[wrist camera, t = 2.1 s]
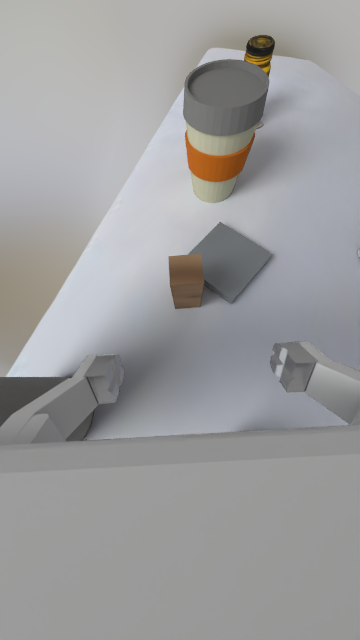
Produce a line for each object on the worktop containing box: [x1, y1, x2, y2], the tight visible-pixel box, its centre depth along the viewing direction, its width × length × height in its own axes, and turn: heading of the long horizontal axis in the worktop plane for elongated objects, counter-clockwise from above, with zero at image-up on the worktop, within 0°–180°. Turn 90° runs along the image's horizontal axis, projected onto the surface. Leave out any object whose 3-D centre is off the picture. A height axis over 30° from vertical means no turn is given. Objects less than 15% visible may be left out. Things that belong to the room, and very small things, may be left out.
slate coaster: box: [188, 222, 272, 304], centre depth 33 cm, size 12×12×2 cm
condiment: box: [244, 35, 275, 129], centre depth 39 cm, size 7×8×12 cm
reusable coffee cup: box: [183, 59, 269, 203], centre depth 32 cm, size 13×13×15 cm
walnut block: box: [169, 254, 204, 309], centre depth 28 cm, size 4×4×9 cm
